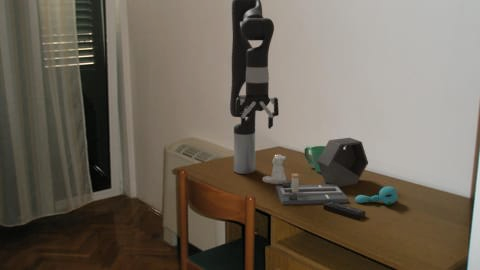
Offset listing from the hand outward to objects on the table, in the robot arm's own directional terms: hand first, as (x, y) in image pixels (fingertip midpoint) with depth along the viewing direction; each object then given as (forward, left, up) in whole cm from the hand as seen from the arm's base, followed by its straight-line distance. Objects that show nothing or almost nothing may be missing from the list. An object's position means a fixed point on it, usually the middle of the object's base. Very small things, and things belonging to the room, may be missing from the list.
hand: (256, 128), depth 168 cm
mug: (-44, +32, -29) cm, 62 cm away
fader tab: (-12, +16, -27) cm, 34 cm away
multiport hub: (+5, +30, -30) cm, 42 cm away
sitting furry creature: (-29, +12, -29) cm, 43 cm away
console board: (-12, +22, -29) cm, 38 cm away
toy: (-3, +45, -30) cm, 54 cm away
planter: (-26, +38, -29) cm, 54 cm away
